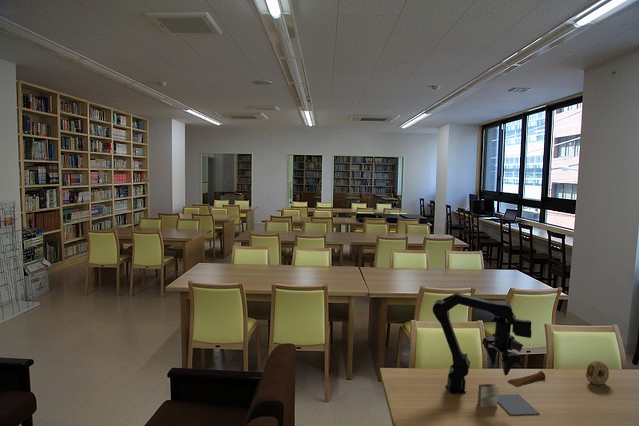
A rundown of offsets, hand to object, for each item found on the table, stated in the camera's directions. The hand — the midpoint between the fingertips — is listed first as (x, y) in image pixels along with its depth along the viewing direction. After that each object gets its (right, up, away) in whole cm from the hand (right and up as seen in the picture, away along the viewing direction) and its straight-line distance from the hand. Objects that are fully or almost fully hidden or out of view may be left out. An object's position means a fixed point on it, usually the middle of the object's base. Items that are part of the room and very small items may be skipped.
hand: (499, 369), depth 170 cm
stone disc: (+51, -13, +16) cm, 55 cm away
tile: (-6, -13, -4) cm, 15 cm away
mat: (+5, -13, -3) cm, 14 cm away
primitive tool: (+20, -12, +17) cm, 29 cm away
